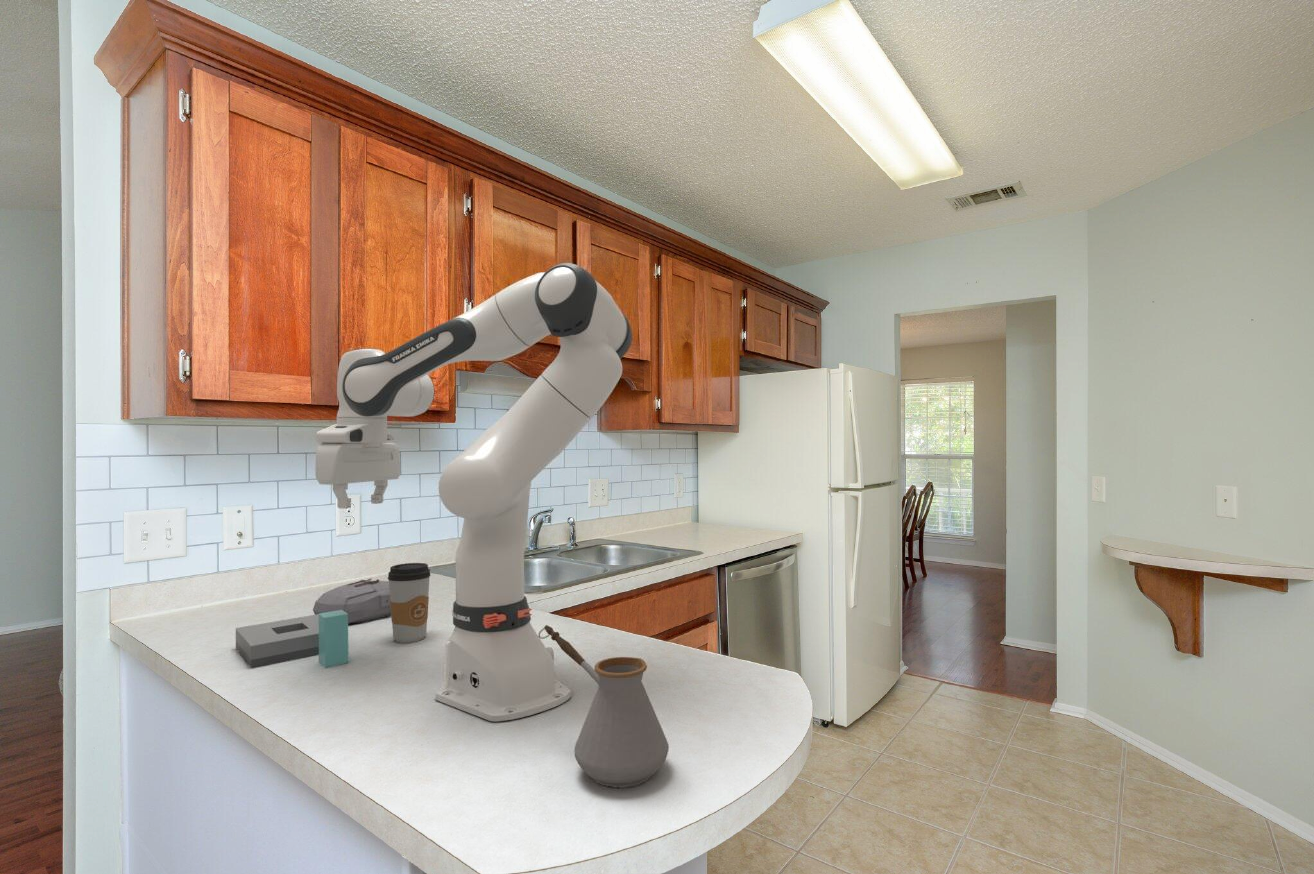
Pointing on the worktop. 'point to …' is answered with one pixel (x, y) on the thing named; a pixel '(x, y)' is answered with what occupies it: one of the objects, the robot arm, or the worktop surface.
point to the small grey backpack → (357, 600)
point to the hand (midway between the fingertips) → (361, 505)
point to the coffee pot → (617, 723)
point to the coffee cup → (409, 601)
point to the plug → (333, 638)
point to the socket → (278, 640)
